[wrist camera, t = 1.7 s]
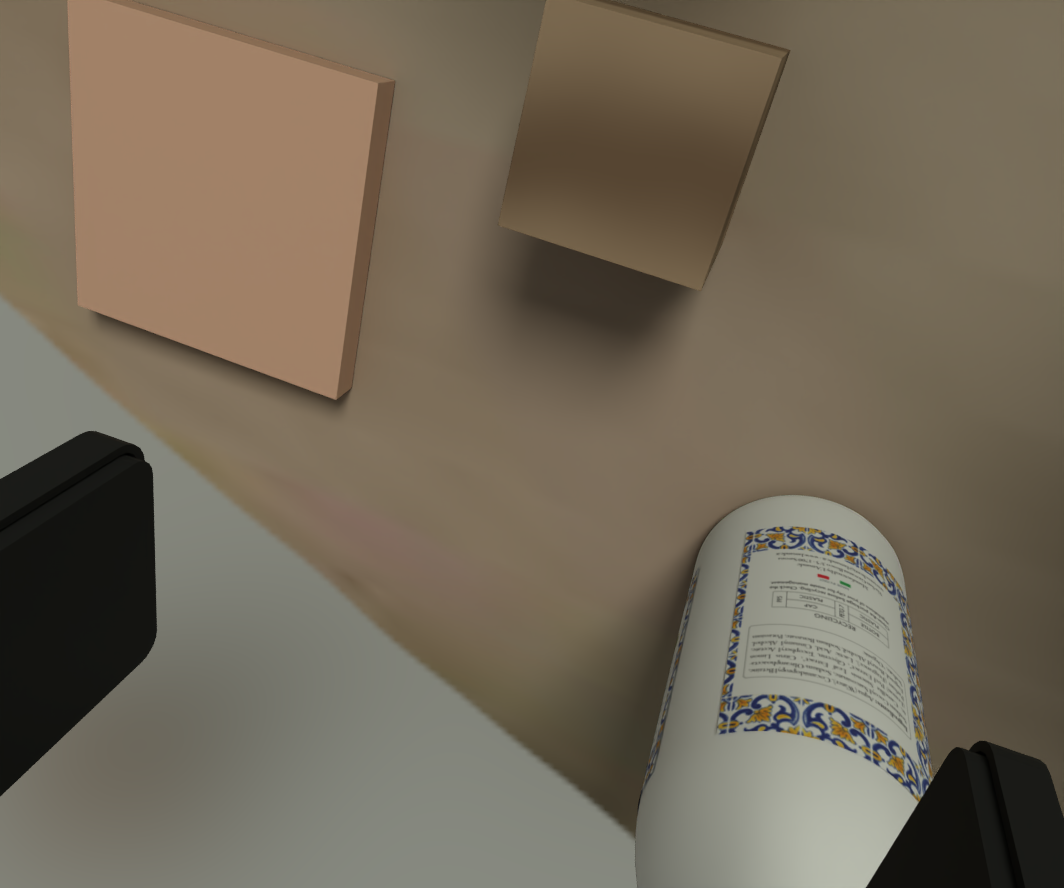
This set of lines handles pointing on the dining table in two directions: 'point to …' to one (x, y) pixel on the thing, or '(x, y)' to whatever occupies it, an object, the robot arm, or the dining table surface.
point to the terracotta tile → (224, 189)
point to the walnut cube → (637, 136)
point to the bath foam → (786, 708)
